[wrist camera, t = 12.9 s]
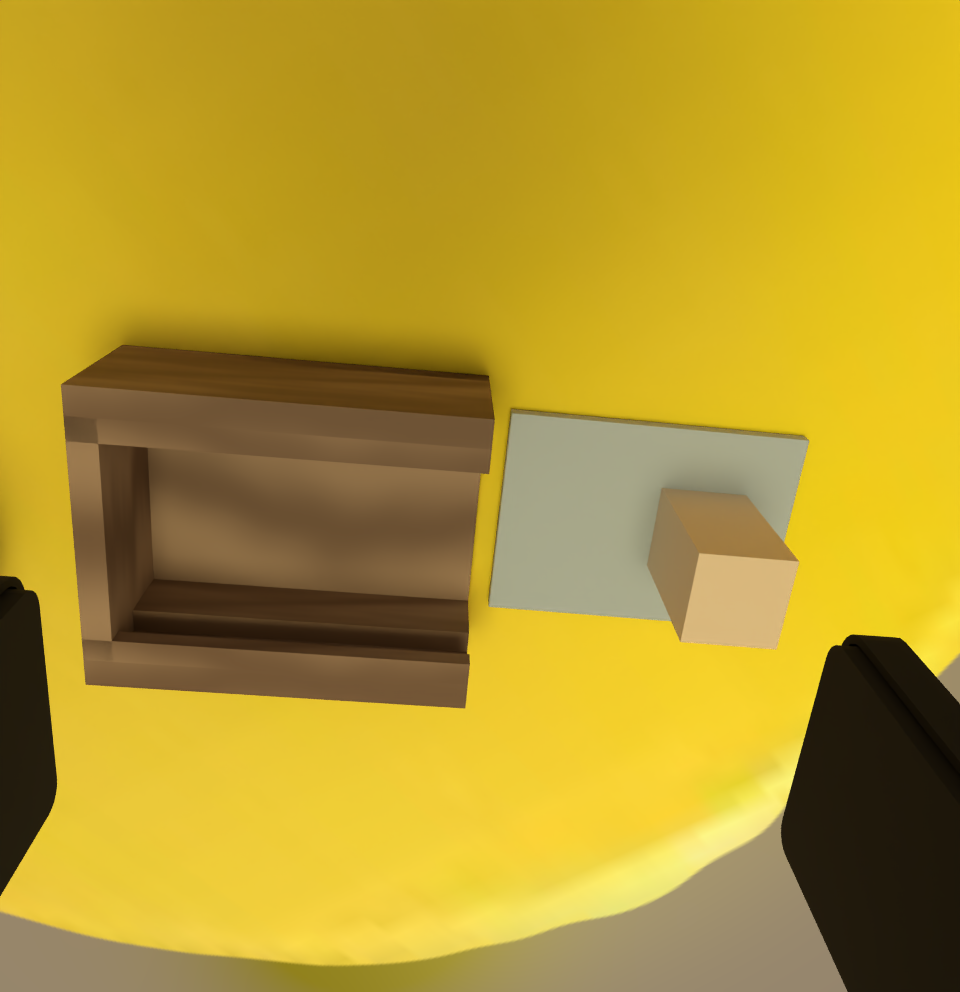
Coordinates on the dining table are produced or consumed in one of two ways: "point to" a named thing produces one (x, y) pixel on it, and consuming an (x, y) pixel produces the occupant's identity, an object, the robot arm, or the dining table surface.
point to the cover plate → (649, 524)
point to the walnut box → (275, 524)
